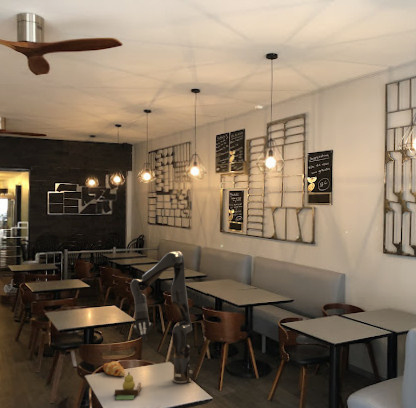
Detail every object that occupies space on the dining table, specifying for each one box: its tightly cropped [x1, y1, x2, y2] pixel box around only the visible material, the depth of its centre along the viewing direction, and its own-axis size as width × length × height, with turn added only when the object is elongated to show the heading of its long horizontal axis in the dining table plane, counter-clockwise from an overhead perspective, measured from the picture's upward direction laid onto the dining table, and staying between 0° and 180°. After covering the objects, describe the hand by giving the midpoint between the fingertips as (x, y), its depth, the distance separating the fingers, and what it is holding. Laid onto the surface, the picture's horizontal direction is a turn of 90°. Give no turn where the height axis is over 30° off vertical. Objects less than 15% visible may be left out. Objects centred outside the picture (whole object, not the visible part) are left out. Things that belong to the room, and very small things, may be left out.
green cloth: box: [115, 395, 136, 401], centre depth 241 cm, size 9×5×1 cm, turn 93°
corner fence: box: [114, 382, 142, 397], centre depth 249 cm, size 12×11×3 cm
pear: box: [122, 371, 136, 389], centre depth 249 cm, size 6×6×11 cm
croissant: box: [102, 360, 126, 377], centre depth 277 cm, size 21×10×8 cm, turn 50°
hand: (144, 341), depth 269 cm, fingers closed
